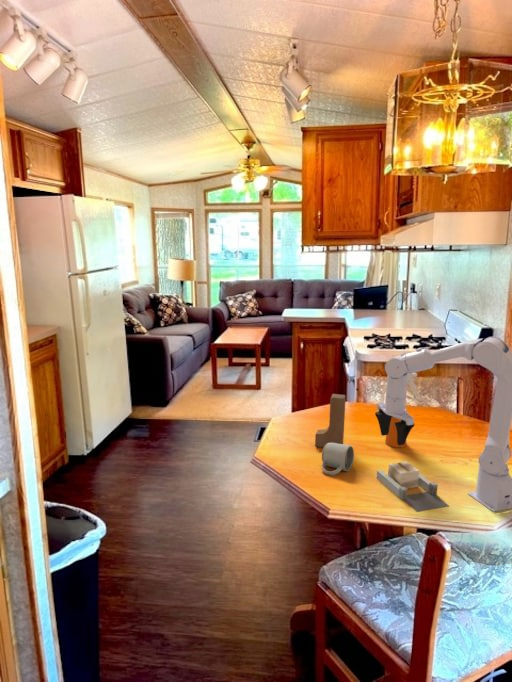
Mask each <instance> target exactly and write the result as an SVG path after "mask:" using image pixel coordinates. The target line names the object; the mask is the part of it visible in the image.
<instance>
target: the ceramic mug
mask: <svg viewBox="0 0 512 682" xmlns="http://www.w3.org/2000/svg"><path fill="white" fill-rule="evenodd" d="M322 448H323V449H322V450H321V451H322V452H321V460H322V463H321V470H322V471H323V473H324V474H326V475H329V476H336V475H337V474H339V473H340V472H341V471H343V472H348V471H350V469H351V468H352V466H353V463H354V459H355V449H354V447H353V445H350V444H349V445H348V444H344V443H343V444H337V443H327V444H326V445H325V446H324V447H322ZM325 466H327V467H330V468H334V469H335V470H332V471H331V470H330V471H328V470H326V468H325Z"/></svg>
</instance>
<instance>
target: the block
mask: <svg viewBox="0 0 512 682" xmlns="http://www.w3.org/2000/svg"><path fill="white" fill-rule="evenodd" d="M387 471H388V473H387V475H388V476H389V477H391V478H392V479H393V480H394V481H395V482H397V483H398V484H399V485H400V486H401V487H405V488H407V490H409V489H413V488H418V487H419V485H418V480H419V473H420V470H419V469H417V468H416V467H415V466H413V464H411V463H409V462H408V461H401V462H392V463H388V470H387Z"/></svg>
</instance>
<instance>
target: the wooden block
mask: <svg viewBox="0 0 512 682" xmlns="http://www.w3.org/2000/svg"><path fill="white" fill-rule="evenodd" d="M346 397H347V396H346V395H345V394H337V393H332V394H331V397H330V398H329V399H330V401H329V402H330V403H329V421H328V423H329V425H328V427H327V428H326V429H318V430H317V431H316V432H315V436H314V437H315V438H314V440H315V441H314V442H315V444H314V446H315V447H318V448H324V446H325V445H326V444H327V443H337V444H343V445H344V439H345V438H344V437H345V436H344V433H345V414H346Z"/></svg>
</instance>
